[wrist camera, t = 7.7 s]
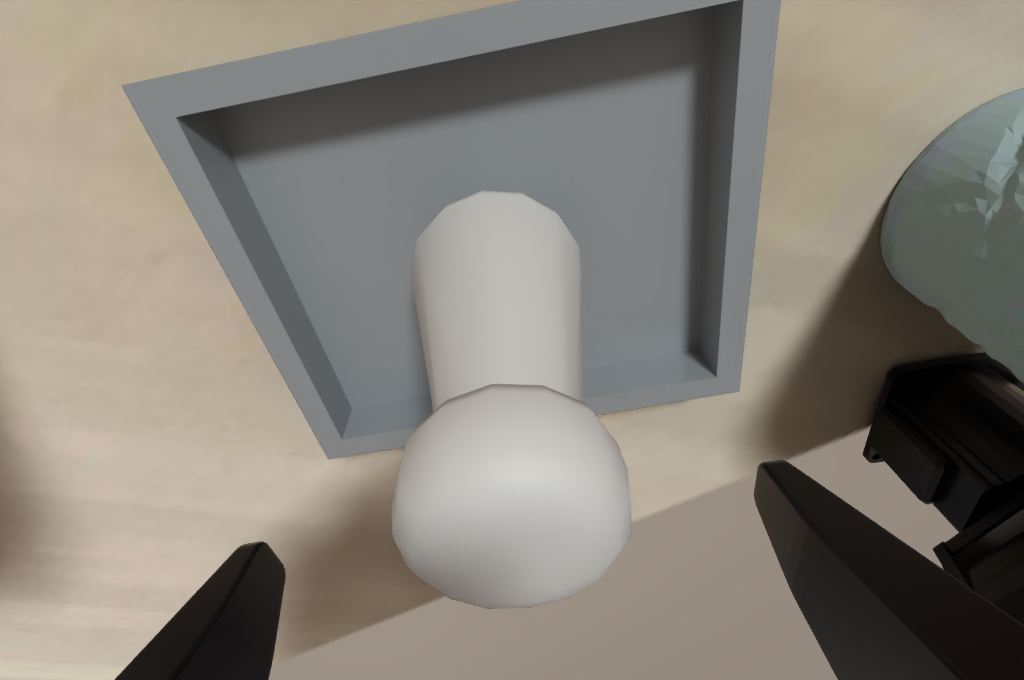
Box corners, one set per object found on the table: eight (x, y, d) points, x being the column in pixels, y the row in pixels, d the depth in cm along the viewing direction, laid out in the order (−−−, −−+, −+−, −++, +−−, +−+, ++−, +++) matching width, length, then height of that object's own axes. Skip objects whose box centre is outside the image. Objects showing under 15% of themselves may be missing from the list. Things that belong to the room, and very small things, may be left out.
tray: (735, -45, 15) (786, -57, 13) (711, 351, 23) (739, 391, 21) (177, 74, 16) (121, 85, 13) (344, 413, 24) (328, 459, 22)
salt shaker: (500, 338, 21) (519, 680, 10) (388, 256, 19) (260, 586, 8) (602, 241, 19) (765, 547, 8) (490, 135, 17) (505, 362, 6)
